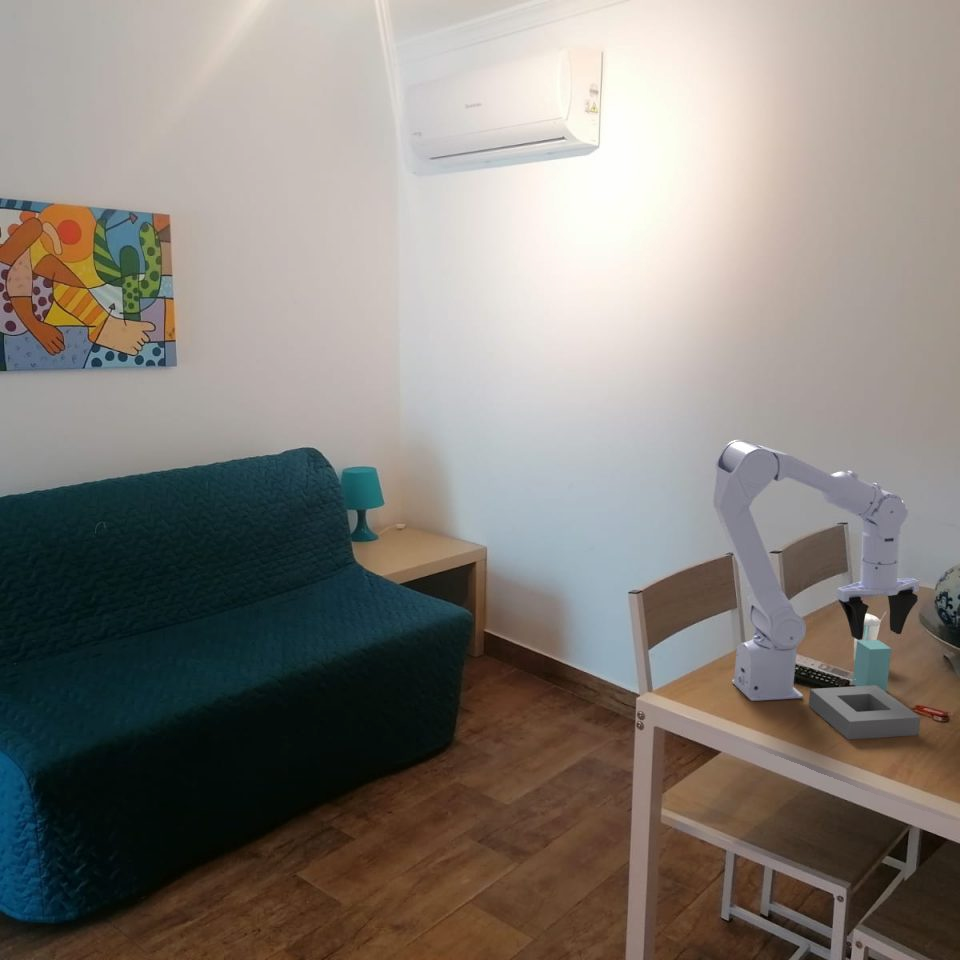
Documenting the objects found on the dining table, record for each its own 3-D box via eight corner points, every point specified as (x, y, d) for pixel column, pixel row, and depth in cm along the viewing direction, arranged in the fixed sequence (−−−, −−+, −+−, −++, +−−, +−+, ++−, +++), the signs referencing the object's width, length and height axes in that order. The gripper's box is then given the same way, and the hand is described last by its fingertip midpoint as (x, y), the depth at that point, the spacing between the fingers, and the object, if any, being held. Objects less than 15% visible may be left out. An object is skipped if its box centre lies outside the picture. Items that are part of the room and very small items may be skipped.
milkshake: (883, 667, 172) (888, 616, 170) (852, 664, 173) (857, 613, 171) (877, 658, 176) (883, 607, 174) (848, 655, 177) (853, 605, 175)
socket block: (847, 739, 143) (849, 721, 143) (808, 705, 155) (810, 688, 154) (918, 734, 145) (920, 717, 145) (874, 701, 157) (876, 685, 156)
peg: (865, 693, 160) (870, 649, 159) (852, 683, 164) (857, 640, 163) (886, 691, 161) (891, 648, 159) (873, 682, 165) (878, 639, 163)
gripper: (855, 571, 153) (853, 648, 155) (932, 561, 156) (928, 637, 158) (830, 559, 159) (828, 634, 162) (904, 550, 162) (901, 623, 165)
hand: (876, 634), depth 161 cm, fingers open, 7 cm apart
